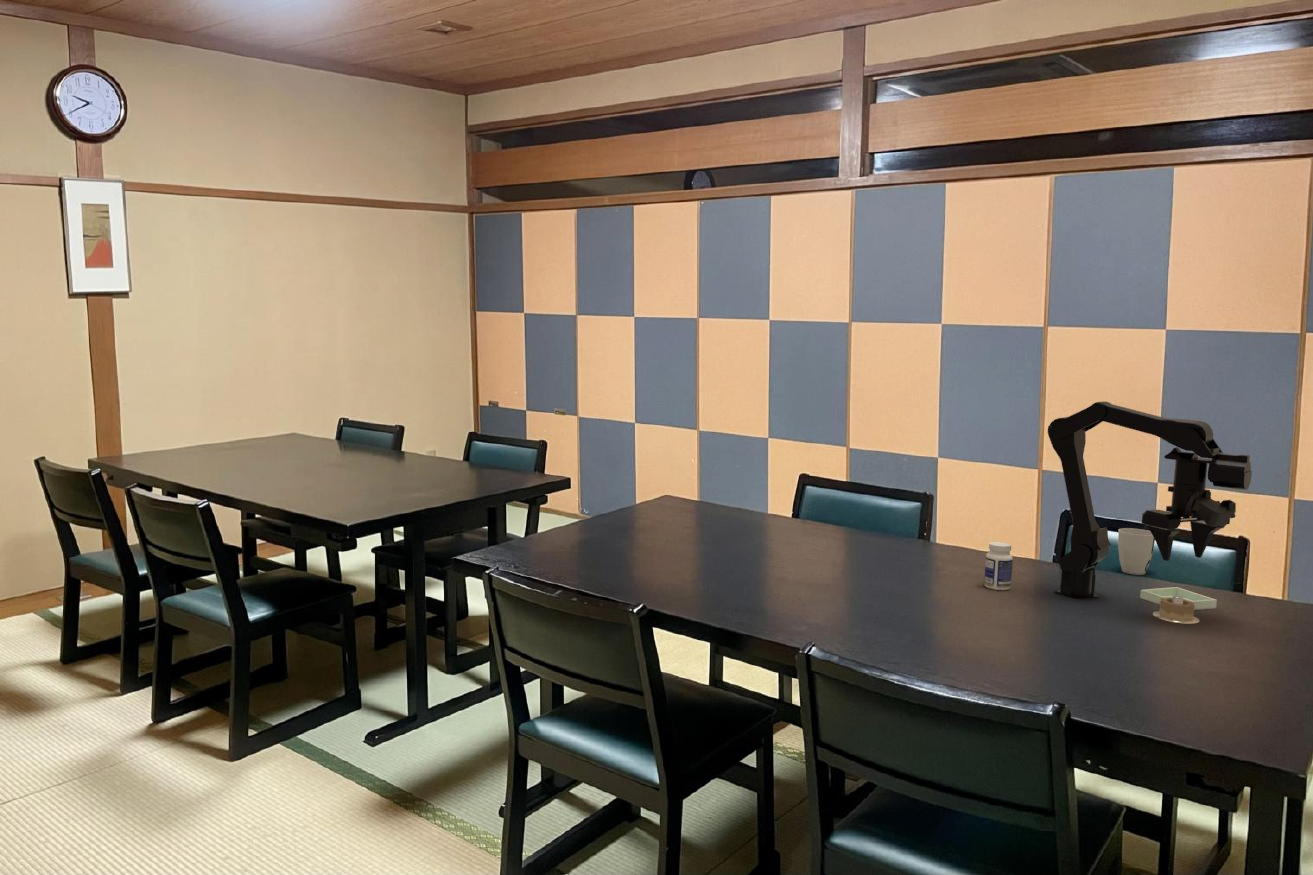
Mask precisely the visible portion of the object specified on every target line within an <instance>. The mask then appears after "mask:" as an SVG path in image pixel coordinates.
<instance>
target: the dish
mask: <svg viewBox="0 0 1313 875" xmlns="http://www.w3.org/2000/svg"><path fill="white" fill-rule="evenodd" d="M1172 596H1181V597H1183V599H1185V600H1188V601H1191V602H1194V605H1195V607H1194V611H1201V610H1202V611H1203V610H1212V609H1217V603H1218V600H1217V599H1216V598H1212V597H1209V596H1206V595H1203V594H1200V593H1196V592H1194V591H1191V590H1187V589H1184V588H1182V587H1178V586H1175V587H1161V588H1160V587H1159V588H1149V589H1148V588H1147V589H1141V590H1140V596H1139V599H1142V600H1145V601H1147V602H1150V603H1153V604H1155V605H1158V606H1160V601H1161V598H1167V597H1172Z"/></svg>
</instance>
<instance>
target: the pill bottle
mask: <svg viewBox="0 0 1313 875" xmlns="http://www.w3.org/2000/svg"><path fill="white" fill-rule="evenodd" d="M988 549H989V551H988V552H987V553H986V554H985V564H984V565H985V566H984V578H983V579H984V580H983V582H984V583H983V584H984V587H986V588H987V589H990V590H997V591H1007V590H1008V591H1009V590H1010V589H1011V588H1012V574H1013V562H1014V557H1013V555H1012V554H1011V553H1010V552H1011V551H1012V544H1010V543H1008V542H1003V541H991V542H989V544H988Z"/></svg>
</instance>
